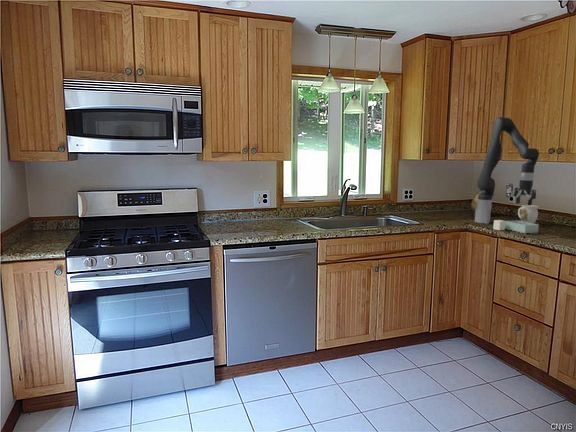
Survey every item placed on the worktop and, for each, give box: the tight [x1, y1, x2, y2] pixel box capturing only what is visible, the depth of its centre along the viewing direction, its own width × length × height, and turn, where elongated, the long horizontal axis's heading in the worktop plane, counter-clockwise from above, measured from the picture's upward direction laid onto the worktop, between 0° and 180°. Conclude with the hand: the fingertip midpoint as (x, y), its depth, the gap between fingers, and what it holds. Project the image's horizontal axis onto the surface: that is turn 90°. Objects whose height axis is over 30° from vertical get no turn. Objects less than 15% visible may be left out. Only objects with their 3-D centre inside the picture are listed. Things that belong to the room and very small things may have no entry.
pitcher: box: [517, 204, 541, 224], centre depth 297 cm, size 11×18×14 cm, turn 14°
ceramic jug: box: [470, 189, 493, 216], centre depth 332 cm, size 17×15×30 cm
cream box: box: [492, 219, 507, 231], centre depth 271 cm, size 5×5×6 cm
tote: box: [505, 220, 540, 235], centre depth 267 cm, size 16×12×6 cm
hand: (523, 204), depth 264 cm, fingers open, 8 cm apart
